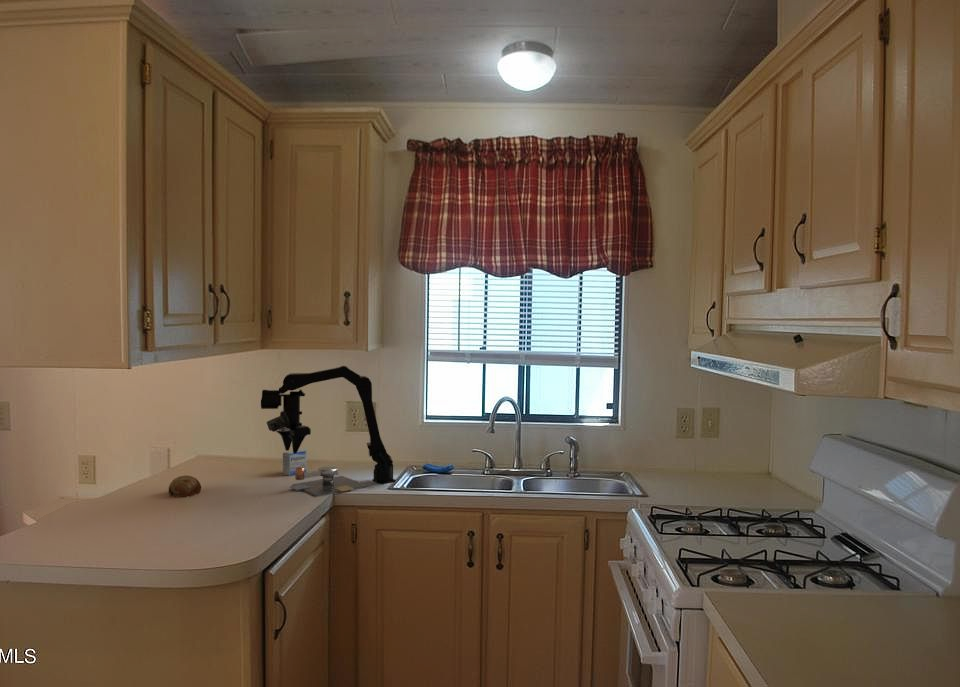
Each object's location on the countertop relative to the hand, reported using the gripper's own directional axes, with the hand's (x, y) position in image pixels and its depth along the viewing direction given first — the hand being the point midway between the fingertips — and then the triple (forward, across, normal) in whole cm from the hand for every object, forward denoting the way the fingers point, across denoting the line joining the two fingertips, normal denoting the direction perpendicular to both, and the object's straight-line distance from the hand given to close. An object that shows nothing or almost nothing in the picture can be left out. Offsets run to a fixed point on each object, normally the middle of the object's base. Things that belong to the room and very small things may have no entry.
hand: (291, 451), depth 221 cm
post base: (+12, +11, +9) cm, 18 cm away
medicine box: (+12, -16, +9) cm, 22 cm away
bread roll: (+13, -13, -32) cm, 37 cm away
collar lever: (+8, +7, +7) cm, 13 cm away
